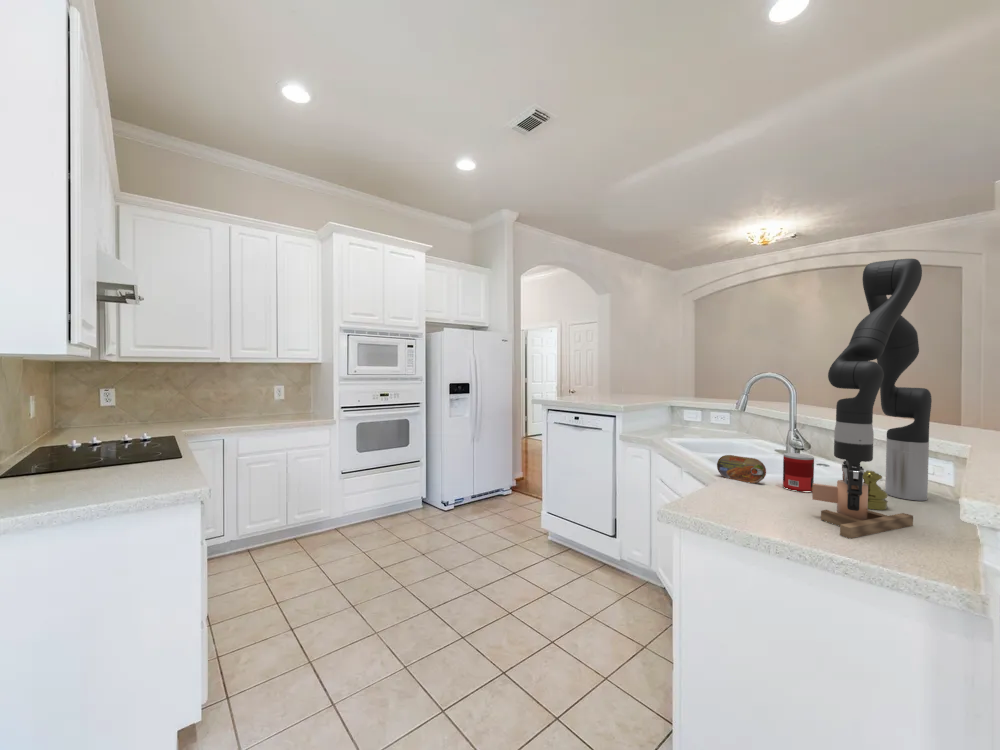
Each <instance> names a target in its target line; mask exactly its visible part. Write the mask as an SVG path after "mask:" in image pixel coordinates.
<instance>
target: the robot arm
mask: <svg viewBox="0 0 1000 750" xmlns="http://www.w3.org/2000/svg"><path fill="white" fill-rule="evenodd" d="M922 277H923V268H922V264H921V262H920V261H919V260H918V259H916V258H900V259H899V258H897V259H891V260H881V261H880V260H879V261H873V262H869V264H867V265H865V267H864V269H863V272H862V287H863V288H862V289H863V293H864V296H865V300H866V303H867V307H868V311H869V314H867V315H866V316H865V317H863V318H862V319H861V320H860V321H859V322H858V324H857V325H856V327H855V328H854V331H853V333H852V336H851V338H850V341H849V343H848V345H847V346H846V347H845V349H844V350H843V351H842V352H841V353H840V354H839V355H838V356H837V358H836V359H835V360H834V361H833V362H832V364H831V365H830V367H829V370H828V373H827V379H828V381H829V384H830V385H831V386H832V387H834V388H837V389H843V390H844V389H845V390H849V389H850V390H858V393H857V394H856V395H855V396H854V397H846V398H841V399H839V400H837V402H836V405H835V407H836V410H835V411H836V412H835V413H836V414H835V426H834V433H833V436H834V437H833V439H834V441H833V457H835V458H837V459H839V460H843V462H842V463H843V464H841V471H842V475H841V476H842V480H844V483H845V485H847V494H848V499H847V507H848V509H849V510H855V511H858V510H859V501H860V496H861V495H862V486H863V482H864V480H863V474H864V472H865V468H863V466H861V463H862V462H863V463H864V462H865V463H867V462H872V461H873V459H874V429H873V428H874V426H873V423H874V421H873V415H874V414H873V413H874V410H873V409H874V405H875V401H876V399H877V396H878V393H880V406H881V410H882V412H883V414H884V415H886V416H887V417H888V416H889V417H895V418H905V419H913V422H912V423H910V424H907V425H904V426H899V427H894V428H889V429H887V431H886V449H885V452H886V453H885V454H886V455H885V480H884V481H885V485H884V488H885V490H884V491H885V492H887V494H888V496H891V497H894V498H898V499H903V500H909V501H924V502H925V501H927V500H928V491H929V489H928V488H929V455H930V453H929V451H930V449H929V448H930V420H931V413H932V412H931V411H932V394H931V391H930V390H929V389H928V388H924V387H908V386H907V387H902V386H900V387H899V386H896V383H897V381H898V379H899V378H900V377H901V375H902V374H903V373H904V372H905V371H906V370H907V369H908V368H909V367H910V366H911V365H912V364H913V362H915V360H916V359H917V357H918V356H919V354H920V353H919V352H920V346H919V345H920V344H919V336H918V332H917V330H916V328H915V327H914V325H913V324H912V323H911V322H910V321H908V320H907V319H906V318H905V317H904V316H903V315H902V314H903V312H904V311H905V309H907V307H908V305H909V303H910V302H911V300H912V298H913V296H914V295H915V293H916V291H917V290H918V288H919V286H920V284H921V281H922ZM887 296H890V297H887ZM874 360H876V361H874ZM879 391H880V392H879ZM851 486H857V487H858V490H856V489H851Z"/></svg>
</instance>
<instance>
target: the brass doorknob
mask: <svg viewBox="0 0 1000 750" xmlns="http://www.w3.org/2000/svg"><path fill="white" fill-rule="evenodd" d="M881 479H883V475H881V474H879V473H876V471H874V470H865V471H864V474H863V483H865V484H867V485H868V510H873V509H874V511H876V510H877V511H885V510H887V509H888V500H887V498H888V496H889V495H888V494H887V492H885V490H883V489H882V487H880V486H879V485H878V481H880V480H881Z"/></svg>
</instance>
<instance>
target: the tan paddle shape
mask: <svg viewBox="0 0 1000 750" xmlns="http://www.w3.org/2000/svg"><path fill="white" fill-rule="evenodd" d="M851 489H856V490H858V487H857V486H851ZM811 493H812V494H811V496H812V497H811V498H812V500H813V501H819V502H820V501H821V502H827V503H833V504H836V509H835V512H836V513H839V514H842V515H845V516H849V517H852V518H855V519H859V520H862V521H863V520H867V515H868V510H869V509H868V485H867V484H865V483H863V486H862V495H861V496H860V501H859V510H858V511H855V510H849V509H848V507H847V499H848V494H847V485H845V483H844V480H843V479H837V481H836V485H830V484H829V485H828V484H820V483H814V482H813V488H812V492H811Z"/></svg>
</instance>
